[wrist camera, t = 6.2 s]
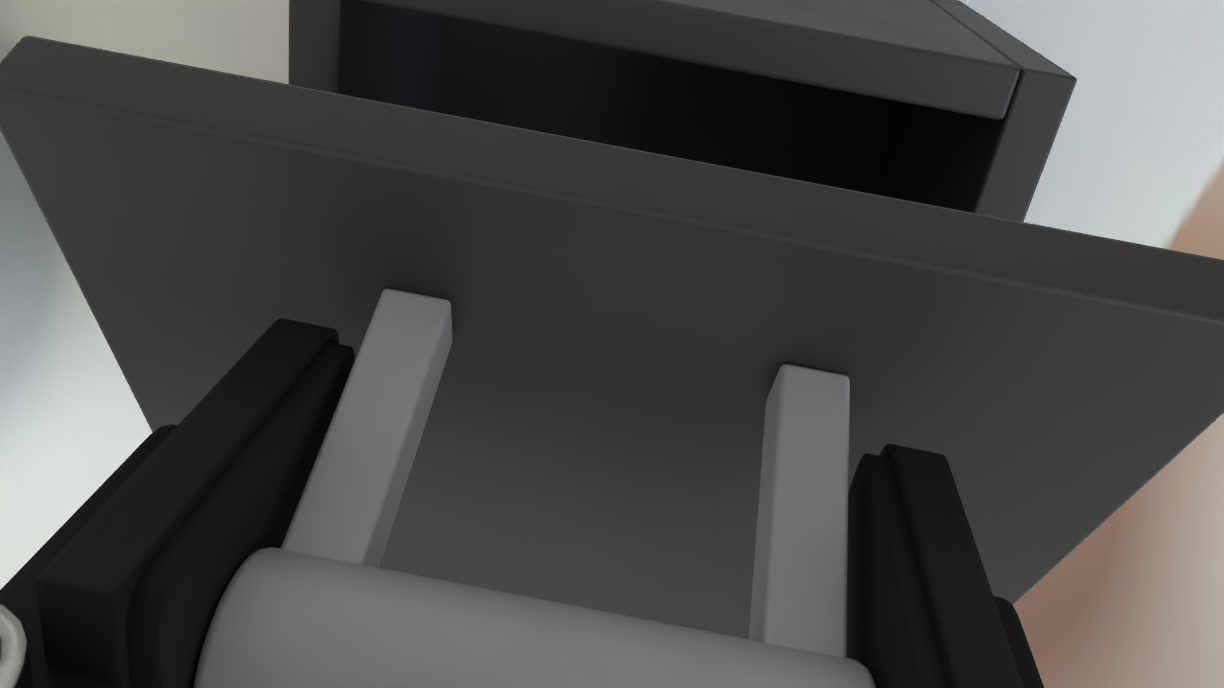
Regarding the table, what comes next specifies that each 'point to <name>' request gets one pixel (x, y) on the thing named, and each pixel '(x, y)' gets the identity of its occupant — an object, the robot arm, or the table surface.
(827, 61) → the black open box
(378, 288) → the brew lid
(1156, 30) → the table surface
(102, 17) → the table surface
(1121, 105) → the table surface
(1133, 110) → the table surface
